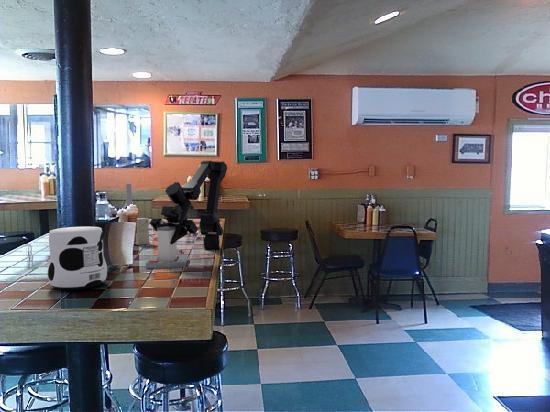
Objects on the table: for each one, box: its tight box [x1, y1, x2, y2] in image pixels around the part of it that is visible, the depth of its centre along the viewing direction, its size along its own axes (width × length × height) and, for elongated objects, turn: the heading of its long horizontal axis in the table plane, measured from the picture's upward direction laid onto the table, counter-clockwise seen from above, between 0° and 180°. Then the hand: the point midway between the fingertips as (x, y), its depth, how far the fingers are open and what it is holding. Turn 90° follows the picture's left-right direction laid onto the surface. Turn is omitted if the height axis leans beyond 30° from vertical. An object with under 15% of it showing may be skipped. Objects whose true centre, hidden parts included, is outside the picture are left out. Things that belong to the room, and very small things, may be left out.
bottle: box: [122, 183, 135, 210], centre depth 245 cm, size 7×7×28 cm
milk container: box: [47, 226, 108, 291], centre depth 152 cm, size 17×17×18 cm
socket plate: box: [145, 254, 189, 270], centre depth 185 cm, size 14×14×2 cm
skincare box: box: [134, 217, 150, 246], centre depth 230 cm, size 6×4×12 cm
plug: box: [156, 226, 178, 261], centre depth 184 cm, size 5×5×12 cm
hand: (165, 243), depth 183 cm, fingers closed on plug, 5 cm apart
